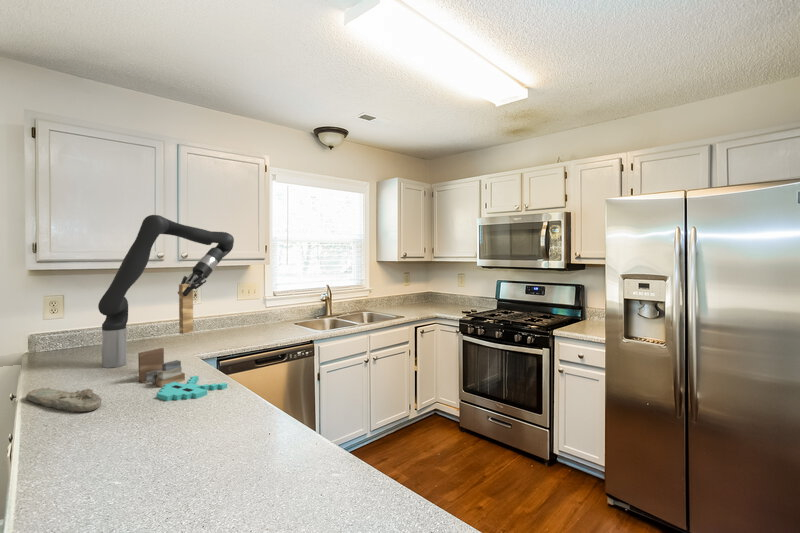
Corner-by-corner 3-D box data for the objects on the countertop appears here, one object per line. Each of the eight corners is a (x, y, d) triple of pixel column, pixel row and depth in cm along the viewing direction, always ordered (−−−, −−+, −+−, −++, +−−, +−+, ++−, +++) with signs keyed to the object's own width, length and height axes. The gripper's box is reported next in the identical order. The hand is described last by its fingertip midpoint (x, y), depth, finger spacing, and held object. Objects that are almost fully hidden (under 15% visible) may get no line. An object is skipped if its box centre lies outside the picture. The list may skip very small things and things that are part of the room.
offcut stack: (155, 385, 159) (155, 365, 158) (179, 378, 168) (179, 359, 168) (161, 387, 157) (161, 366, 157) (185, 380, 166) (185, 360, 166)
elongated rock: (49, 396, 151) (16, 407, 142) (47, 382, 150) (14, 392, 141) (112, 404, 139) (81, 416, 130) (110, 389, 138) (79, 401, 129)
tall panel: (179, 333, 177) (178, 284, 176) (189, 331, 181) (189, 283, 181) (183, 333, 176) (182, 284, 175) (193, 331, 180) (192, 283, 180)
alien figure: (195, 380, 167) (146, 395, 149) (195, 375, 167) (146, 390, 149) (227, 389, 158) (179, 406, 140) (227, 383, 158) (179, 399, 140)
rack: (138, 381, 164) (138, 353, 163) (162, 374, 173) (161, 347, 172) (153, 385, 160) (152, 355, 159) (176, 378, 169) (176, 350, 168)
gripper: (190, 260, 187) (165, 288, 177) (210, 261, 181) (186, 290, 171) (200, 271, 192) (177, 299, 182) (220, 272, 186) (197, 301, 176)
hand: (181, 294), depth 176 cm, fingers closed on tall panel, 2 cm apart
